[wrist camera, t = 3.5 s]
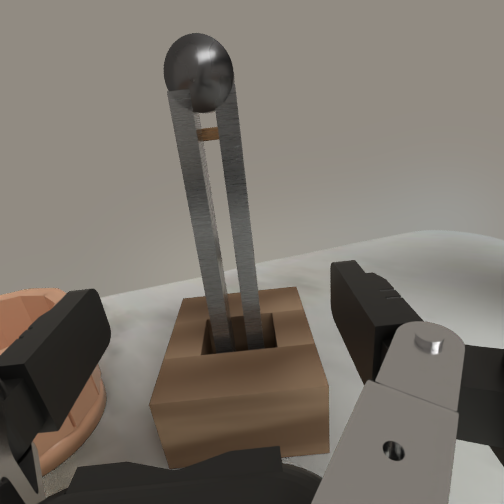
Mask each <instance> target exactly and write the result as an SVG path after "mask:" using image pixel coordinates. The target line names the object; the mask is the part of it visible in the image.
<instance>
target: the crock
mask: <svg viewBox="0 0 504 504" xmlns="http://www.w3.org/2000/svg"><path fill="white" fill-rule="evenodd" d="M66 294H67V293H65V292H64V291H62V290H60V289H56V288H35V289H34V288H33V289H28V290H27V289H24V290H20V291H16V292H12V293H7V294H4V295H0V355H1V354H2V353H3V352H4V351H5V350H6V349H7V348H8V347H9V346H10V345H11V344H12V343H13V342H14V341H15V340H16V339H19V336H20V335H21V334H22V333H23V332H24V331H25V330H28V327H29V326H30V325H31V324H32V323H33V322H34V321H35V320H36V319H37V318H38V317H40V316H41V315H43V314H44V313H46V312H47V311H49V310H51V309H52V308H53V307H54V306H55V305H56V304H57V303H58V302H59V301H60V300H61V299H62V298H63V297H64V296H65V295H66ZM106 399H107V397H106V390H105V387H104V384H103V382H102V379H101V371H100V368H99V366H98V364H97V366H96V367H95V369H94V371H93V373H92V374H91V376H90V378H89V380H88V381H87V383H86V385H85V386H84V388H83V390H82V392H81V393H80V395H79V397H78V399H77V400H76V402H75V404H74V405H73V407H72V409H71V411H70V412H69V414H68V416H67V418H66V419H65V421H64V423H63V424H62V426H61V428H60V430H59V431H55V432H46V433H38V434H37V435H36V437H35V438H34V440H33V441H34V443H35V445H36V447H37V450H38V455H39V461H40V467H41V473H42V476H44V475H46V474H47V473H49V472H50V471H52V470H53V469H55V468H56V467H57V466H59V465H60V464H61V463H63V462H64V461H65V460H66V459H67V458H69V457H70V456H71V455H72V454H73V453H74V452H75V451H76V450H77V449H78V448H79V447H80V446H81V445H82V444H83V443H84V442H85V441H86V440H87V438H88V437H89V436H90V435H91V433H92V432H93V430H94V429H95V428H96V426H97V424H98V423H99V421H100V419H101V417H102V415H103V412H104V409H105V406H106Z"/></svg>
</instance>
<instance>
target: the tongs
mask: <svg viewBox="0 0 504 504" xmlns="http://www.w3.org/2000/svg"><path fill="white" fill-rule="evenodd" d="M164 79H165V83H166V86H167V88H168V90H169V91H168V92H167V95H168V100H169V105H170V110H171V116H172V121H173V126H174V132H175V137H176V142H177V147H178V153H179V158H180V163H181V169H182V174H183V179H184V184H185V190H186V195H187V200H188V206H189V211H190V216H191V222H192V227H193V232H194V237H195V242H196V248H197V253H198V258H199V264H200V269H201V274H202V280H203V285H204V290H205V296H206V301H207V306H208V311H209V317H210V322H211V327H212V333H213V338H214V343H215V348H216V354H219V353H228V352H236V347H235V340H234V334H233V328H232V321H231V315H230V309H229V302H228V296H227V289H226V283H225V277H224V271H223V264H222V258H221V251H220V245H219V238H218V232H217V226H216V219H215V213H214V206H213V201H212V194H211V187H210V181H209V175H208V168H207V162H206V156H205V149H204V143H203V141H209V140H217V139H219V140H220V147H221V155H222V162H223V169H224V177H225V184H226V191H227V198H228V205H229V213H230V220H231V228H232V235H233V241H234V249H235V257H236V264H237V271H238V279H239V286H240V293H241V300H242V308H243V315H244V322H245V330H246V337H247V344H248V350H257V349H265V348H264V339H263V331H262V322H261V313H260V304H259V295H258V286H257V277H256V268H255V259H254V250H253V241H252V232H251V223H250V214H249V205H248V196H247V187H246V178H245V170H244V160H243V151H242V142H241V133H240V124H239V115H238V106H237V97H236V88H235V84H234V72H233V66H232V62H231V59H230V57H229V55H228V53H227V51H226V50H225V49H224V47H223V46H222V45H221V44H220V43H219V42H218V41H216V40H215V39H214V38H212V37H210V36H208V35H205V34H200V33H192V34H188V35H185V36H183V37H181V38H179V39H178V40H177V41H175V43H173V45H172V46H171V47H170V49H169V51H168V53H167V55H166V58H165V62H164ZM215 111H216V118H217V126H218V127H212V128H204V129H201V124H200V117H199V113H212V112H215Z"/></svg>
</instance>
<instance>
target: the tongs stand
mask: <svg viewBox="0 0 504 504" xmlns="http://www.w3.org/2000/svg"><path fill="white" fill-rule="evenodd" d="M258 295H259V304H260V313H261V322H262V331H263V339H264V348H265V349H257V350H248V344H247V337H246V330H245V322H244V315H243V308H242V300H241V293H231V294H227V296H228V302H229V309H230V315H231V321H232V328H233V334H234V340H235V347H236V352H228V353H219V354H216V348H215V343H214V338H213V333H212V327H211V322H210V317H209V311H208V306H207V301H206V296H203V297H194V298H185V299H183V301H182V304H181V307H180V310H179V313H178V316H177V319H176V322H175V326H174V329H173V332H172V335H171V338H170V341H169V344H168V347H167V350H166V353H165V356H164V360H163V363H162V366H161V369H160V372H159V375H158V378H157V381H156V384H155V387H154V391H153V394H152V397H151V400H150V403H149V406H150V410H151V413H152V416H153V419H154V422H155V425H156V428H157V431H158V434H159V437H160V440H161V444H162V447H163V450H164V453H165V456H166V459H167V462H168V465H169V468H170V469H174V468H184V467H188V466H190V465H193V464H196V463H198V462H201V461H204V460H207V459H209V458H212V457H215V456H218V455H220V454H223V453H226V452H228V451H234V450H244V449H253V448H262V447H272V446H280V451H281V458H283V457H293V456H303V455H313V454H323V453H329V385H328V382H327V379H326V376H325V373H324V370H323V367H322V364H321V361H320V358H319V355H318V352H317V349H316V346H315V343H314V339H313V336H312V333H311V330H310V327H309V324H308V321H307V318H306V315H305V312H304V309H303V306H302V303H301V300H300V297H299V294H298V291H297V288H296V287H287V288H278V289H269V290H259V291H258Z"/></svg>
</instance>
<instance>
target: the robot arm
mask: <svg viewBox="0 0 504 504" xmlns="http://www.w3.org/2000/svg"><path fill="white" fill-rule="evenodd" d="M330 272H331V310H332V315H333V319H334V321H335V323H336V326H337V328H338V330H339V332H340V334H341V336H342V339H343V341H344V343H345V345H346V347H347V349H348V351H349V354H350V356H351V358H352V360H353V362H354V364H355V366H356V369H357V371H358V373H359V375H360V377H361V379H362V382H363V384H364V388H363V390H362V392H361V394H360V396H359V399H358V401H357V403H356V405H355V407H354V410H353V412H352V414H351V416H350V419H349V421H348V423H347V425H346V427H345V430H344V432H343V434H342V436H341V438H340V441H339V443H338V445H337V447H336V450H335V452H334V454H333V456H332V458H331V461H330V463H329V465H328V467H327V469H326V472H325V474H324V476H323V478H322V477H320V476H319V475H317V474H315V473H312V472H310V471H308V470H306V469H303V468H300V467H297V466H294V465H290V464H284V463H282V460H281V451H280V446H272V447H262V448H253V449H244V450H234V451H228V452H226V453H223V454H220V455H218V456H215V457H212V458H209V459H207V460H204V461H201V462H198V463H196V464H193V465H190V466H188V467H185V468H182V469H179V470H169V469H164V468H158V467H153V466H147V465H142V464H136V463H131V462H121V463H111V464H102V465H92V466H83V467H78V468H77V470H76V472H75V474H74V476H73V478H72V481H71V483H70V485H69V487H68V488H66V489H64V490H62V491H60V492H58V493H56V494H53V495H51V496H49V497H48V498H46V496H45V490H44V484H43V478H42V473H41V467H40V461H39V455H38V450H37V447H36V445H35V443H34V441H33V440H34V438H35V437H36V435H37V434H38V433H46V432H55V431H59V430H60V428H61V426H62V424H63V423H64V421H65V419H66V418H67V416H68V414H69V412H70V411H71V409H72V407H73V405H74V404H75V402H76V400H77V399H78V397H79V395H80V393H81V392H82V390H83V388H84V386H85V385H86V383H87V381H88V380H89V378H90V376H91V374H92V373H93V371H94V369H95V367H96V366H97V364H98V362H99V361H100V359H101V357H102V355H103V354H104V352H105V350H106V348H107V347H108V345H109V342H110V338H111V330H110V325H109V322H108V320H107V317H106V314H105V311H104V308H103V305H102V302H101V299H100V297H99V294H98V292H97V291H96V290H95V289H85V290H76V291H69V292H68V293H67V294H66V295H65V296H64V297H63V298H62V299H61V300H60V301H59V302H58V303H57V304H56V305H55V306H54V307H53V308H52V309H51V310H49V311H47V312H46V313H44V314H43V315H41V316H40V317H38V318H37V319H36V320H35V321H34V322H33V323H32V324H31V325H30V326H29V327H28V330H25V331H24V332H23V333H22V334H21V335H20V336H19V339H16V340H15V341H14V342H13V343H12V344H11V345H10V346H9V347H8V348H7V349H6V350H5V351H4V352H3V353H2V354H1V355H0V504H448V501H449V493H450V484H451V476H452V468H453V460H454V451H455V443H456V439H458V440H463V441H468V442H473V443H479V444H484V445H489V446H490V448H491V449H492V451H493V452H494V453H495V455H496V456H497V458H498V459H499V461H500V462H501V464H502V465H503V466H504V349H497V348H488V347H479V346H471V345H465V344H464V342H463V341H462V339H461V338H460V337H459V336H458V335H457V334H456V333H454V332H453V331H451V330H450V329H448V328H446V327H443V326H441V325H438V324H434V323H430V322H424V321H423V320H422V319H421V318H420V317H419V316H418V314H417V313H416V312H415V311H414V310H413V309H412V308H411V307H410V306H409V304H408V303H407V302H406V301H405V300H404V299H403V298H401V296H400V295H399V293H398V292H397V291H396V290H394V288H393V287H392V286H391V285H390V283H389V282H388V281H387V280H386V279H384V278H382V277H380V276H378V275H376V274H374V273H365V272H364V271H363V269H362V268H361V267H360V266H359V264H358V263H357V262H356V261H355V260H351V261H342V262H333V263H332V264H331V271H330Z"/></svg>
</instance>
